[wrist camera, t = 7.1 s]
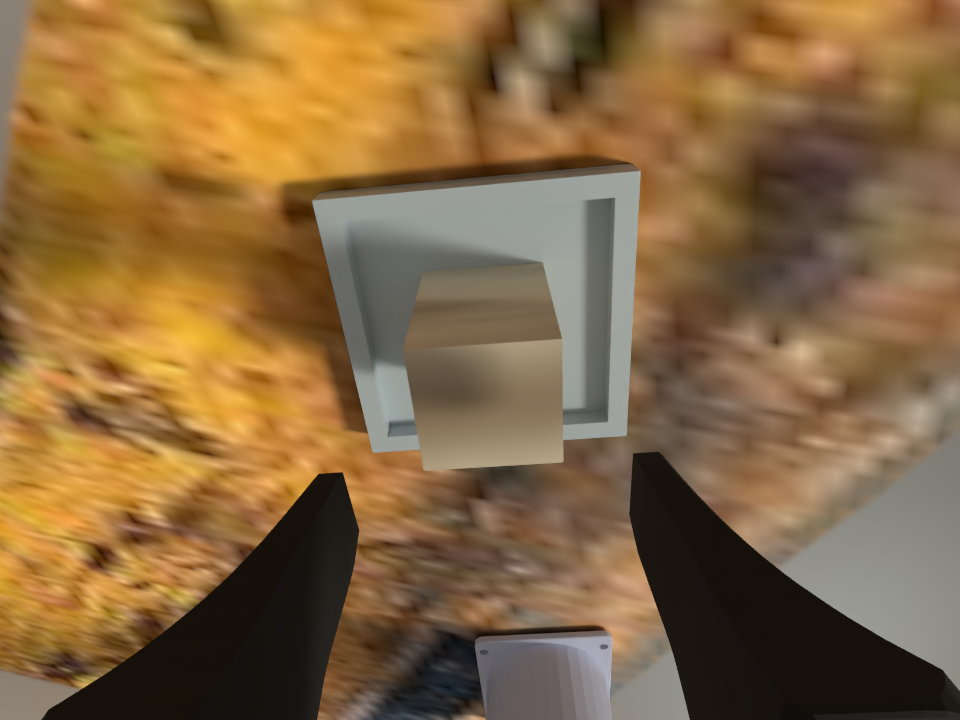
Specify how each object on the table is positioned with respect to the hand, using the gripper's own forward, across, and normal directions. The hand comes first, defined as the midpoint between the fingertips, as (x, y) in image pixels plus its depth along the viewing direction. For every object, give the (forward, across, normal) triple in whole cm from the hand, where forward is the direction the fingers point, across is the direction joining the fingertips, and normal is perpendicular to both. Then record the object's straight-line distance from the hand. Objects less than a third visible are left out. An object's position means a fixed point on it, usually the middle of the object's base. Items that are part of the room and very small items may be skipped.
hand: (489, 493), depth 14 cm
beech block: (+9, 0, 0) cm, 9 cm away
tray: (+10, 0, 0) cm, 10 cm away
